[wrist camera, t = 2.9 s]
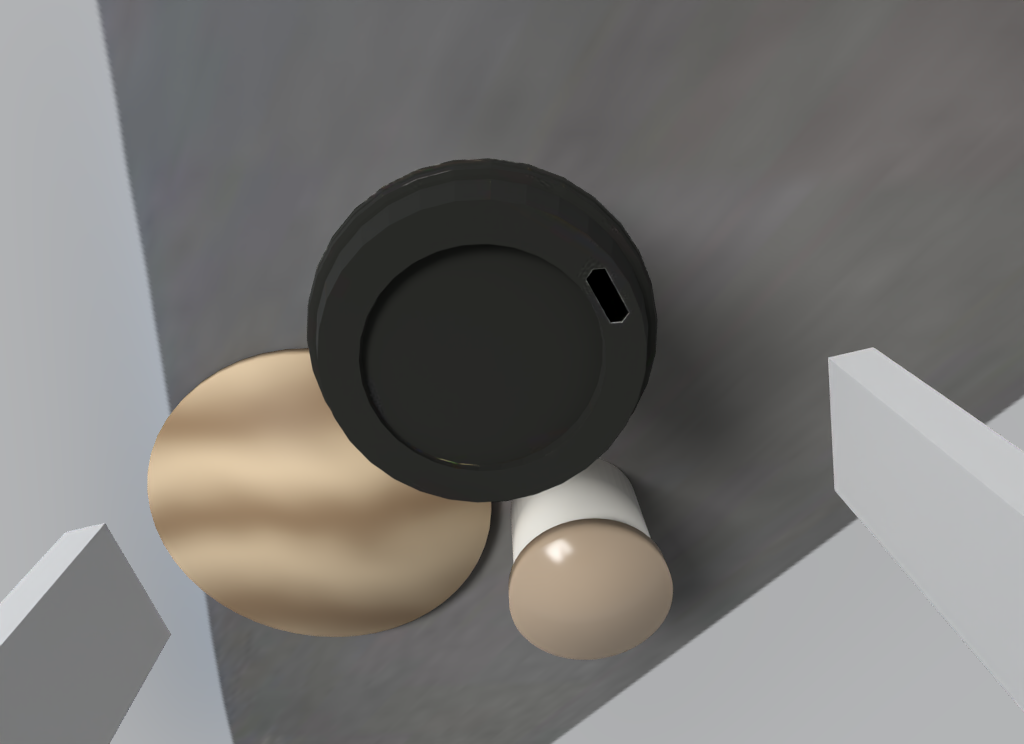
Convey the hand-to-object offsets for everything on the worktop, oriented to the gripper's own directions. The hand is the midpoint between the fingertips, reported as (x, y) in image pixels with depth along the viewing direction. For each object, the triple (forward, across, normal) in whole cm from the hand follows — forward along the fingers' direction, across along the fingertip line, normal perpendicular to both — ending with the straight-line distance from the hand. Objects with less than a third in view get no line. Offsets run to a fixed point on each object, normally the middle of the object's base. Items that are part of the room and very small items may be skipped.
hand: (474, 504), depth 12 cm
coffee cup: (+21, 0, 0) cm, 21 cm away
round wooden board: (+21, -12, -12) cm, 27 cm away
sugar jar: (+21, +1, -16) cm, 26 cm away
